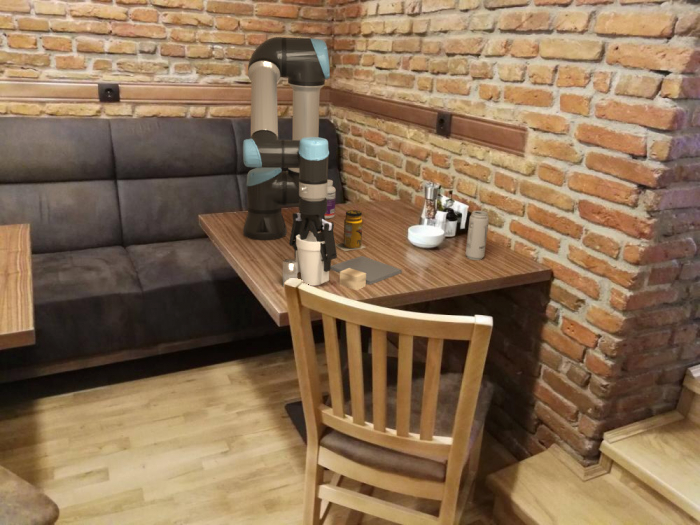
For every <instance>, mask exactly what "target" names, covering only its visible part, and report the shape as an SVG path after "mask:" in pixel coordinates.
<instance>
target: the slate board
mask: <svg viewBox="0 0 700 525" xmlns="http://www.w3.org/2000/svg"><path fill="white" fill-rule="evenodd" d="M348 268H351V269H354V270H357V271H360V272H364V273H366V284H367V285H370V286H371V285H373V284H375V283H379V282H381V281H383V280H386V279H387V280H388V279H389V278H392V277H394V276H397V275H399V274H402V272H403V269H402V268H398V267H397V266H396V267H395V266H392V265H390V264H387V263H384V262H381V261H379V260H376V259H372V258H370V257H366V256H364V255H361V256H357V257H354V258H351V259H348V260H345V261H342V262H339V263H336V264H331V269H330V271H334V272H337V273H338V274H340V271H343V270H345V269H348Z"/></svg>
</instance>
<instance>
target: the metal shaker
mask: <svg viewBox="0 0 700 525" xmlns="http://www.w3.org/2000/svg"><path fill="white" fill-rule="evenodd" d="M298 273H299V272H298V262H297V261H296V260H295V259H291V258H289V259H284V260H283V261H282V287H283V288H284V282H285V281H286V280H287V279H289V278H298V277H299V276H298Z"/></svg>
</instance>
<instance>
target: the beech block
mask: <svg viewBox="0 0 700 525" xmlns="http://www.w3.org/2000/svg"><path fill="white" fill-rule="evenodd" d="M366 284H367V283H366V273H364V272H360V271H357V270H354V269H351V268H348V269H345V270H343V271H340V273H339V285H340V286H343V287H346V288H349V289H351V290H355V291H359V290H360V289H362V288H365V287H366Z"/></svg>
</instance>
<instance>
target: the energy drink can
mask: <svg viewBox="0 0 700 525" xmlns="http://www.w3.org/2000/svg"><path fill="white" fill-rule="evenodd" d="M489 217H490V216H489V213H488V212H487V211H484V210H472V212H471V214H470V216H469V220H468V228H467V229H468V230H467V238H466V246H465V256H466V258H467V259H468V260H473V261H481V260H483V258H484V257H485V254H486V245H487V238H488V231H489V223H490V222H489V221H490V218H489Z"/></svg>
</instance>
